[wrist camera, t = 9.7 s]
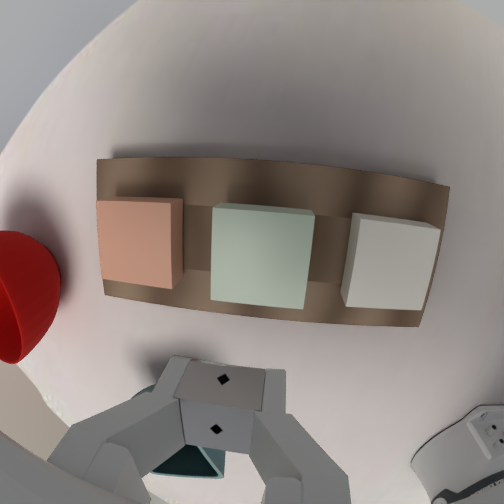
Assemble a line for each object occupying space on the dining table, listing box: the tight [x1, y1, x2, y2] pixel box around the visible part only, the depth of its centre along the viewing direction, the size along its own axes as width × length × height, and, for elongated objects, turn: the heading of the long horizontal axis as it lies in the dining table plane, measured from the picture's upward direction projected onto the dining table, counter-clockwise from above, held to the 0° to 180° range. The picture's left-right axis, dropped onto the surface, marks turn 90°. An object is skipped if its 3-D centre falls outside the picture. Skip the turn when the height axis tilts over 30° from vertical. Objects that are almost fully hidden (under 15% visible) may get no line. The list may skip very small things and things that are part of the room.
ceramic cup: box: [0, 231, 61, 364], centre depth 24 cm, size 13×17×10 cm
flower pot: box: [131, 384, 225, 479], centre depth 26 cm, size 9×9×9 cm
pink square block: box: [96, 196, 183, 289], centre depth 22 cm, size 6×6×5 cm
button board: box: [97, 157, 450, 327], centre depth 23 cm, size 28×12×2 cm, turn 87°
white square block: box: [340, 213, 441, 310], centre depth 20 cm, size 6×6×5 cm
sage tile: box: [211, 203, 315, 309], centre depth 20 cm, size 6×6×5 cm
